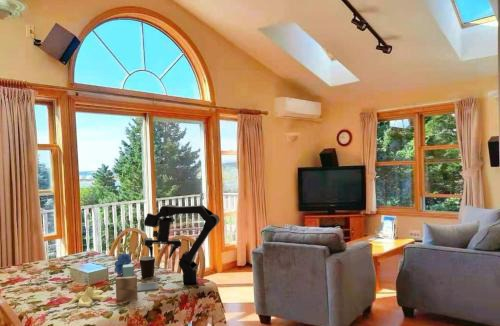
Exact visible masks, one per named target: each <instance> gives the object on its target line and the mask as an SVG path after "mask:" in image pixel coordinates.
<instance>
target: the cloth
mask: <svg viewBox="0 0 500 326" xmlns="http://www.w3.org/2000/svg"><path fill="white" fill-rule="evenodd" d="M103 293H104V291H103V290H102V289H95V290H94V289H93V287H90V286H89V287H87V288H86V289H85V291H84V292H83V293H78V294H76V295H74V296H73V297H72V299H71V300H70V301H69V302H68V303H67V306H68V305H69V306H70V305H73V304H75V302H77V301H78V303H77V307H90V306H91V305H92V303H93V300H95V301H96V300H97V301H98V302H101V303H103V302H106V301H107V300H108V299H110V298H111V296H110V295H109V294H103Z"/></svg>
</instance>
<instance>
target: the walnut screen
mask: <svg viewBox="0 0 500 326" xmlns="http://www.w3.org/2000/svg"><path fill="white" fill-rule="evenodd" d="M137 290H138V276H135V275H134V276H131V277H123V276H118V277H117V276H116V278H115V296H116V297H115V301H116V302H117V300H118V301H132V300H133V301H134V300H137V298H138V292H137Z"/></svg>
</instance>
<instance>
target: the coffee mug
mask: <svg viewBox="0 0 500 326" xmlns="http://www.w3.org/2000/svg"><path fill="white" fill-rule="evenodd" d="M138 260H139V266H140V274H141V278H142V277H143V279H150V278H153V277H154V276H155V267H156V266H155V265H156V257H155V256H153V257H152V259H151V255H150V256H149V255H148V256H142V257H139V259H138Z"/></svg>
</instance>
